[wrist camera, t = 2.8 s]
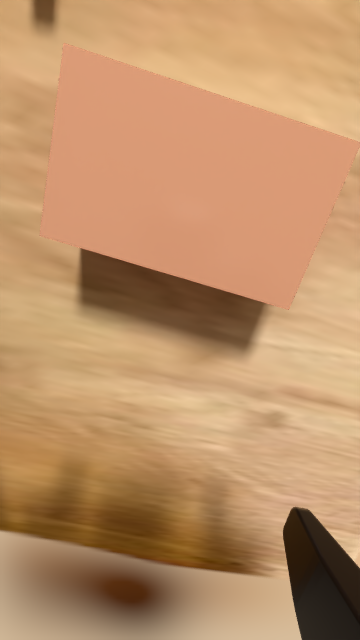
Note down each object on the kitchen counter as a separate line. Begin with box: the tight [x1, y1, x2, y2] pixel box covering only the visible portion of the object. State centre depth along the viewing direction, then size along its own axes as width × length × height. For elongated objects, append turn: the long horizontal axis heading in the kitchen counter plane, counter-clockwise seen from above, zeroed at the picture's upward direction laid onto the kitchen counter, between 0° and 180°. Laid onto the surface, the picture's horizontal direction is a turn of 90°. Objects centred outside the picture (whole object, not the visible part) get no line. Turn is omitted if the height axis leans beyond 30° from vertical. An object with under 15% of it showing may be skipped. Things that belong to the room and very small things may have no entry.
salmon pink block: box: [40, 43, 360, 310], centre depth 12 cm, size 6×10×4 cm, turn 74°
